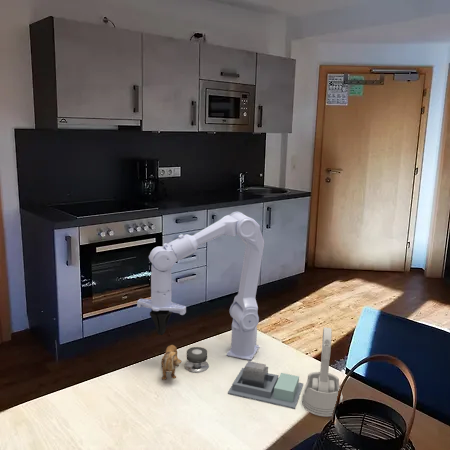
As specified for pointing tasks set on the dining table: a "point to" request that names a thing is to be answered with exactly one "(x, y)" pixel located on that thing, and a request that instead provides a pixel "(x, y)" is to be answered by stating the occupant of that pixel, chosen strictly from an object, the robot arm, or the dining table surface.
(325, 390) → the engine component
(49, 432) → the dining table surface
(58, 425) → the dining table surface
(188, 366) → the axle mount
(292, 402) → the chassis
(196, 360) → the wheel
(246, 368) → the block
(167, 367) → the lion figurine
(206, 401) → the dining table surface
